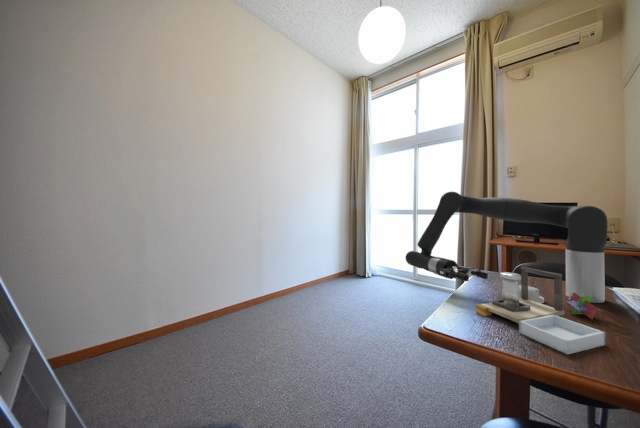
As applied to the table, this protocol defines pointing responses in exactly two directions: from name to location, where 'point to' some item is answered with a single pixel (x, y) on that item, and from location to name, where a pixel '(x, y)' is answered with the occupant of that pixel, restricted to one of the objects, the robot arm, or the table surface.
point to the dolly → (526, 301)
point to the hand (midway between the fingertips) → (477, 277)
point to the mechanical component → (533, 294)
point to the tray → (562, 333)
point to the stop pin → (510, 288)
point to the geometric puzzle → (582, 305)
